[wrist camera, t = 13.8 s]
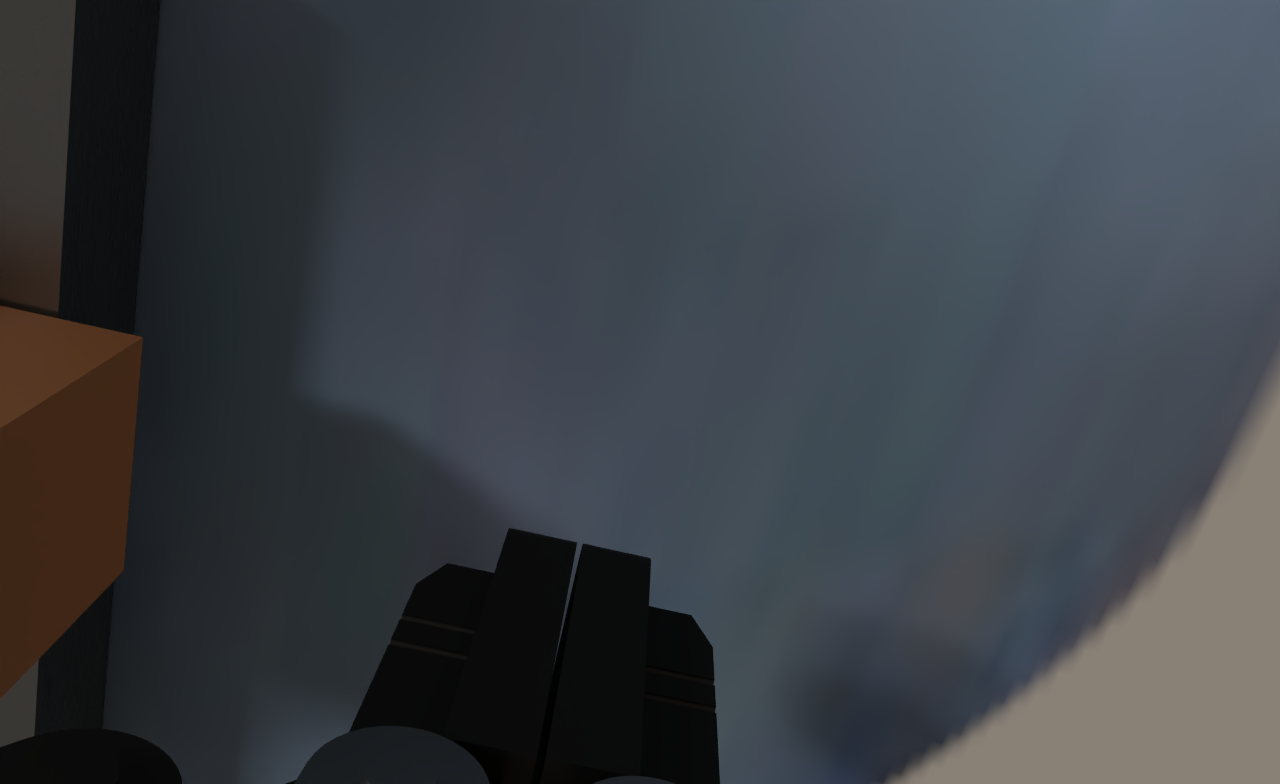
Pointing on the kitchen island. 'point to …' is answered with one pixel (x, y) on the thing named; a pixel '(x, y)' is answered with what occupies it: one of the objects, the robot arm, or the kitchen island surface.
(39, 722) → the dock
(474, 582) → the robot arm
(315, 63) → the kitchen island surface
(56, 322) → the lock pin
